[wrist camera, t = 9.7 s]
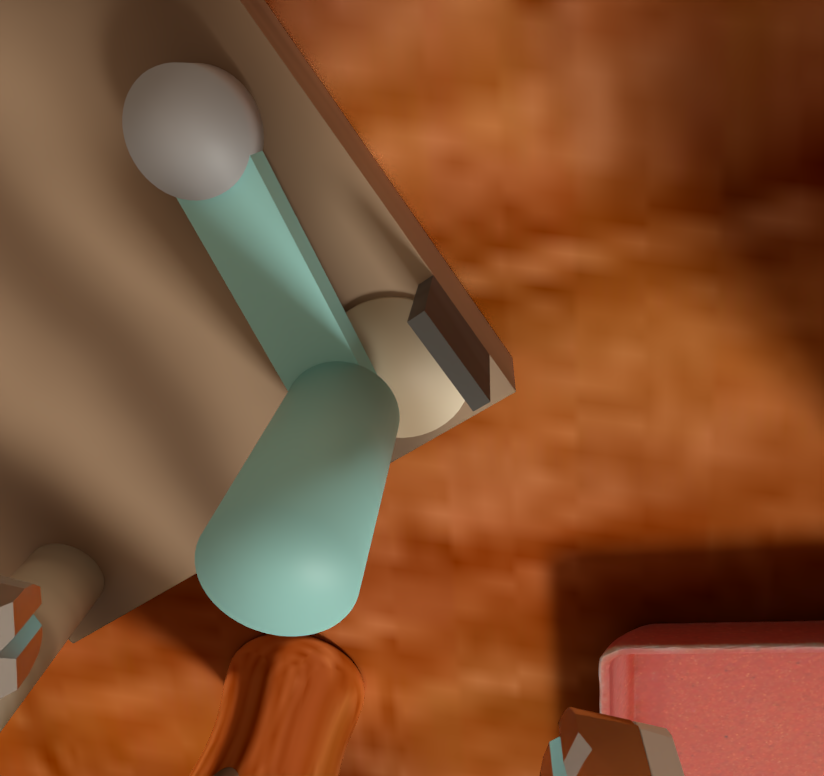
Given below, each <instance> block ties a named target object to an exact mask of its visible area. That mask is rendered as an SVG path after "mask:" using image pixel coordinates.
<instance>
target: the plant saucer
mask: <svg viewBox="0 0 824 776" xmlns="http://www.w3.org/2000/svg"><path fill="white" fill-rule="evenodd" d="M599 707H600V713H601V714H606V715H610V716H615V717H619V718H624V719H628V720H631V721H636V722H640V723H645V724H649V725H653V726H658V727H662V728H667V730H668V731H669V732H670V734H671V735H672V737H673V741H674V744H675V747H676V750H677V753H678V756H679V760H680V763H681V766H682V769H683V772H684V775H685V776H824V621H781V622H717V623H716V622H715V623H661V624H648V625H644V626H641V627H639V628H636V629H634V630H632V631H630V632H627V633H626V634H624V635H622V636H620V637H619V638H617V639H616V640H615V641H613V642H612V643H611V644H610V645H609V646H608V648H607V649H606V650H605V651H604V652H603V654H602V655H601V657H600V660H599Z"/></svg>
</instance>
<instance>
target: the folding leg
mask: <svg viewBox="0 0 824 776" xmlns="http://www.w3.org/2000/svg"><path fill="white" fill-rule="evenodd" d="M122 127H123V134H124V139H125V143H126V146H127V148H128V151H129V154H130V156H131V158H132V159H133V161H134V163H135V164H136V166H137V168H138V169H139V170H140V172H141V173H142V174H143V175H144V176H145V177H146V178H147V179H148V180H149V181H150V182H151V183H152V184H153V185H155V186H156V187H157V188H158V189H160V190H162V191H163V192H165V193H167V194H169V195H171V196H174V197H176V198H177V200H178V201H179V203H180V205H181V207H182V208H183V210H184V212H185V214H186V215H187V217H188V219H189V220H190V222H191V224H192V226H193V227H194V229H195V231H196V233H197V234H198V236H199V238H200V240H201V241H202V243H203V245H204V247H205V248H206V250H207V252H208V253H209V255H210V257H211V259H212V260H213V262H214V264H215V266H216V267H217V269H218V271H219V273H220V274H221V276H222V278H223V280H224V281H225V283H226V285H227V286H228V288H229V290H230V292H231V293H232V295H233V297H234V299H235V300H236V302H237V304H238V306H239V307H240V309H241V311H242V313H243V314H244V316H245V318H246V319H247V321H248V323H249V325H250V326H251V328H252V330H253V332H254V333H255V335H256V337H257V339H258V340H259V342H260V344H261V346H262V347H263V349H264V351H265V352H266V354H267V356H268V358H269V359H270V361H271V363H272V365H273V366H274V368H275V370H276V372H277V373H278V375H279V377H280V379H281V380H282V382H283V384H284V386H285V387H286V389H287V391H288V393H287V394H286V396H285V398H284V399H283V401H282V403H281V404H280V406H279V408H278V409H277V411H276V412H275V414H274V416H273V417H272V419H271V421H270V422H269V424H268V426H267V427H266V429H265V430H264V432H263V434H262V435H261V437H260V439H259V440H258V442H257V444H256V445H255V447H254V449H253V450H252V452H251V453H250V455H249V457H248V458H247V460H246V462H245V463H244V465H243V467H242V468H241V470H240V472H239V473H238V475H237V476H236V478H235V480H234V481H233V483H232V485H231V486H230V488H229V490H228V491H227V493H226V495H225V496H224V498H223V499H222V501H221V503H220V504H219V506H218V508H217V509H216V511H215V513H214V514H213V516H212V518H211V519H210V521H209V522H208V524H207V526H206V527H205V529H204V531H203V532H202V534H201V536H200V537H199V540H198V542H197V545H196V550H195V568H196V573H197V576H198V579H199V581H200V584H201V586H202V588H203V589H204V591H205V593H206V594H207V596H208V597H209V598H210V599H211V601H212V602H213V603H214V604H215V605H216V606H217V607H218V608H219V609H220V610H221V611H223V612H224V613H225V614H226V615H228V616H229V617H231V618H232V619H234V620H235V621H237V622H239V623H241V624H243V625H244V626H246V627H249V628H251V629H254V630H256V631H260V632H263V633H267V634H272V635H277V636H306V635H311V634H316V633H319V632H322V631H325V630H327V629H329V628H331V627H333V626H334V625H336V624H337V623H339V622H340V621H341V620H343V619H344V618H345V617H346V616H347V615H348V614H349V612H350V611H351V610H352V608H353V606H354V605H355V603H356V601H357V598H358V595H359V591H360V587H361V583H362V578H363V574H364V570H365V566H366V562H367V557H368V553H369V549H370V545H371V541H372V537H373V532H374V528H375V524H376V520H377V516H378V511H379V507H380V503H381V499H382V495H383V490H384V486H385V482H386V478H387V474H388V470H389V465H390V461H391V457H392V453H393V449H394V444H395V440H396V436H397V432H398V427H399V422H400V414H399V407H398V403H397V400H396V398H395V396H394V394H393V392H392V390H391V389H390V387H389V386H388V385H387V384H386V382H385V381H384V380H383V379H382V378H381V377H379V376H378V375H377V373H376V371H375V369H374V367H373V365H372V363H371V361H370V359H369V357H368V356H367V354H366V352H365V350H364V348H363V346H362V344H361V342H360V340H359V338H358V336H357V334H356V332H355V330H354V328H353V326H352V324H351V322H350V320H349V318H348V316H347V315H346V313H345V311H344V309H343V307H342V305H341V303H340V301H339V299H338V297H337V295H336V293H335V291H334V289H333V287H332V285H331V283H330V281H329V279H328V277H327V276H326V274H325V272H324V270H323V268H322V266H321V264H320V262H319V260H318V258H317V256H316V254H315V252H314V250H313V248H312V246H311V244H310V242H309V240H308V238H307V236H306V235H305V233H304V231H303V229H302V227H301V225H300V223H299V221H298V219H297V217H296V215H295V213H294V211H293V209H292V207H291V205H290V203H289V201H288V199H287V197H286V195H285V194H284V192H283V190H282V188H281V186H280V184H279V182H278V180H277V178H276V176H275V174H274V172H273V170H272V168H271V166H270V164H269V162H268V160H267V158H266V156H265V154H264V153H263V145H264V129H263V123H262V118H261V115H260V112H259V109H258V107H257V105H256V103H255V101H254V99H253V97H252V96H251V94H250V93H249V92H248V90H247V89H246V88H245V87H244V85H243V84H242V83H241V82H240V81H239V80H237V79H236V78H235V77H234V76H233V75H231V74H230V73H228V72H227V71H225V70H223V69H221V68H219V67H216V66H213V65H209V64H204V63H177V62H172V63H164V64H161V65H157V66H155V67H153V68H151V69H149V70H147V71H146V72H144V73H143V74H142V75H141V76H140V77H139V78H138V79H137V80H136V81H135V82H134V84H133V85H132V86H131V88H130V90H129V92H128V94H127V97H126V99H125V103H124V107H123V115H122Z"/></svg>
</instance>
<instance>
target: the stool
mask: <svg viewBox="0 0 824 776" xmlns="http://www.w3.org/2000/svg"><path fill="white" fill-rule="evenodd" d="M172 62H177V63H204V64H209V65H213V66H216V67H219V68H221V69H223V70H225V71H227V72H228V73H230V74H231V75H233V76H234V77H235V78H236V79H237V80H239V81H240V82H241V83H242V84H243V85H244V87H245V88H246V89H247V90H248V92H249V93H250V94H251V96H252V97H253V99H254V101H255V103H256V105H257V107H258V109H259V112H260V115H261V118H262V123H263V129H264V145H263V153H264V154H265V156H266V158H267V160H268V162H269V164H270V166H271V168H272V170H273V172H274V174H275V176H276V178H277V180H278V182H279V184H280V186H281V188H282V190H283V192H284V194H285V195H286V197H287V199H288V201H289V203H290V205H291V207H292V209H293V211H294V213H295V215H296V217H297V219H298V221H299V223H300V225H301V227H302V229H303V231H304V233H305V235H306V236H307V238H308V240H309V242H310V244H311V246H312V248H313V250H314V252H315V254H316V256H317V258H318V260H319V262H320V264H321V266H322V268H323V270H324V272H325V274H326V276H327V277H328V279H329V281H330V283H331V285H332V287H333V289H334V291H335V293H336V295H337V297H338V299H339V301H340V303H341V305H342V307H343V309H344V311H345V313H346V315H347V316H348V318H349V320H350V322H351V324H352V326H353V328H354V330H355V332H356V334H357V336H358V338H359V340H360V342H361V344H362V346H363V348H364V350H365V352H366V354H367V356H368V357H369V359H370V361H371V363H372V365H373V367H374V369H375V371H376V373H377V375H378V376H379V377H381V378H382V379H383V380H384V381H385V382H386V384H387V385H388V386H389V387H390V389H391V390H392V392H393V394H394V396H395V398H396V400H397V403H398V407H399V414H400V422H399V427H398V432H397V436H396V440H395V444H394V449H393V453H392V457H391V461H390V463H391V462H393V461H395V460H396V459H398V458H400V457H402V456H404V455H405V454H407V453H409V452H411V451H412V450H414V449H416V448H418V447H419V446H421V445H423V444H425V443H426V442H428V441H430V440H432V439H433V438H435V437H437V436H439V435H440V434H442V433H444V432H446V431H447V430H449V429H451V428H453V427H454V426H456V425H458V424H460V423H462V422H463V421H465V420H467V419H469V418H470V417H472V416H474V415H476V414H477V413H479V412H481V411H483V410H484V409H486V408H488V407H490V406H491V405H493V404H495V403H497V402H498V401H500V400H502V399H504V398H505V397H507V396H509V395H511V394H512V393H514V392H516V389H515V379H514V369H513V359H512V357H511V355H510V354H509V352H508V351H507V350H506V348H505V347H504V345H503V344H502V342H501V341H500V339H499V338H498V337H497V335H496V334H495V332H494V331H493V329H492V328H491V326H490V325H489V324H488V322H487V321H486V319H485V318H484V316H483V315H482V313H481V312H480V311H479V309H478V308H477V306H476V305H475V303H474V302H473V300H472V299H471V298H470V296H469V295H468V293H467V292H466V290H465V289H464V287H463V286H462V285H461V283H460V282H459V280H458V279H457V277H456V276H455V275H454V273H453V272H452V270H451V269H450V267H449V266H448V264H447V263H446V262H445V260H444V259H443V257H442V256H441V254H440V253H439V251H438V250H437V249H436V247H435V246H434V244H433V243H432V241H431V240H430V238H429V237H428V236H427V234H426V233H425V231H424V230H423V228H422V227H421V225H420V224H419V223H418V221H417V220H416V218H415V217H414V215H413V214H412V212H411V211H410V210H409V208H408V207H407V205H406V204H405V202H404V201H403V199H402V198H401V197H400V195H399V194H398V192H397V191H396V189H395V188H394V186H393V185H392V184H391V182H390V181H389V179H388V178H387V176H386V175H385V174H384V172H383V171H382V169H381V168H380V166H379V165H378V163H377V162H376V161H375V159H374V158H373V156H372V155H371V153H370V152H369V150H368V149H367V148H366V146H365V145H364V143H363V142H362V140H361V139H360V137H359V136H358V135H357V133H356V132H355V130H354V129H353V127H352V126H351V124H350V123H349V122H348V120H347V119H346V117H345V116H344V114H343V113H342V111H341V110H340V109H339V107H338V106H337V104H336V103H335V101H334V100H333V98H332V97H331V96H330V94H329V93H328V91H327V90H326V88H325V87H324V86H323V84H322V83H321V81H320V80H319V78H318V77H317V75H316V74H315V73H314V71H313V70H312V68H311V67H310V65H309V64H308V62H307V61H306V60H305V58H304V57H303V55H302V54H301V52H300V51H299V49H298V48H297V47H296V45H295V44H294V42H293V41H292V39H291V38H290V36H289V35H288V34H287V32H286V31H285V29H284V28H283V26H282V25H281V23H280V22H279V21H278V19H277V18H276V16H275V15H274V13H273V12H272V10H271V9H270V8H269V6H268V5H267V3H266V2H265V0H0V575H1V576H5V577H9V578H13V579H17V580H20V581H24V582H28V583H32V584H35V585H37V586H40V587H41V600H42V604H41V605H40V606H39V608H38V609H37V610H36V611H35V612H34V615H35V617H36V618H37V619H38V621H39V622H40V623H41V624H42V642H41V646H40V651H39V654H38V656H37V658H36V660H35V663H34V665H33V667H32V669H31V671H30V673H29V674H28V676H27V677H26V679H25V680H24V681H23V683H22V684H21V685H20V687H19V688H18V690H16V691H14V692H12V693H10V694H8V695H7V696H5V697H3V698H1V699H0V732H1V730H2V729H3V728H4V726H5V725H6V723H7V722H8V721H9V719H10V718H11V717H12V715H13V714H14V712H15V711H16V710H17V708H18V707H19V706H20V704H21V703H22V702H23V700H24V699H25V697H26V696H27V695H28V693H29V692H30V691H31V689H32V688H33V686H34V685H35V684H36V682H37V681H38V680H39V678H40V677H41V676H42V674H43V673H44V671H45V670H46V669H47V667H48V666H49V665H50V663H51V662H52V660H53V659H54V658H55V656H56V655H57V654H58V652H59V651H60V650H61V648H62V647H63V645H64V644H65V643H66V641H67V640H68V639H69V640H70V641H71V642H72V643H75V642H77V641H78V640H80V639H82V638H84V637H85V636H87V635H89V634H91V633H92V632H94V631H96V630H98V629H99V628H101V627H103V626H105V625H106V624H108V623H110V622H112V621H114V620H115V619H117V618H119V617H121V616H122V615H124V614H126V613H128V612H129V611H131V610H133V609H135V608H136V607H138V606H140V605H142V604H143V603H145V602H147V601H149V600H150V599H152V598H154V597H156V596H157V595H159V594H161V593H163V592H164V591H166V590H168V589H170V588H172V587H173V586H175V585H177V584H179V583H180V582H182V581H184V580H186V579H187V578H189V577H191V576H193V575H194V574H196V568H195V550H196V545H197V542H198V540H199V537H200V536H201V534H202V532H203V531H204V529H205V527H206V526H207V524H208V522H209V521H210V519H211V518H212V516H213V514H214V513H215V511H216V509H217V508H218V506H219V504H220V503H221V501H222V499H223V498H224V496H225V495H226V493H227V491H228V490H229V488H230V486H231V485H232V483H233V481H234V480H235V478H236V476H237V475H238V473H239V472H240V470H241V468H242V467H243V465H244V463H245V462H246V460H247V458H248V457H249V455H250V453H251V452H252V450H253V449H254V447H255V445H256V444H257V442H258V440H259V439H260V437H261V435H262V434H263V432H264V430H265V429H266V427H267V426H268V424H269V422H270V421H271V419H272V417H273V416H274V414H275V412H276V411H277V409H278V408H279V406H280V404H281V403H282V401H283V399H284V398H285V396H286V394H287V393H288V391H287V389H286V387H285V386H284V384H283V382H282V380H281V379H280V377H279V375H278V373H277V372H276V370H275V368H274V366H273V365H272V363H271V361H270V359H269V358H268V356H267V354H266V352H265V351H264V349H263V347H262V346H261V344H260V342H259V340H258V339H257V337H256V335H255V333H254V332H253V330H252V328H251V326H250V325H249V323H248V321H247V319H246V318H245V316H244V314H243V313H242V311H241V309H240V307H239V306H238V304H237V302H236V300H235V299H234V297H233V295H232V293H231V292H230V290H229V288H228V286H227V285H226V283H225V281H224V280H223V278H222V276H221V274H220V273H219V271H218V269H217V267H216V266H215V264H214V262H213V260H212V259H211V257H210V255H209V253H208V252H207V250H206V248H205V247H204V245H203V243H202V241H201V240H200V238H199V236H198V234H197V233H196V231H195V229H194V227H193V226H192V224H191V222H190V220H189V219H188V217H187V215H186V214H185V212H184V210H183V208H182V207H181V205H180V203H179V201H178V200H177V198H176V197H174V196H171V195H169V194H167V193H165V192H163V191H162V190H160V189H158V188H157V187H156V186H155V185H153V184H152V183H151V182H150V181H149V180H148V179H147V178H146V177H145V176H144V175H143V174H142V173H141V172H140V170H139V169H138V168H137V166H136V164H135V163H134V161H133V159H132V158H131V156H130V154H129V151H128V148H127V146H126V143H125V139H124V134H123V127H122V115H123V107H124V103H125V99H126V97H127V94H128V92H129V90H130V88H131V86H132V85H133V84H134V82H135V81H136V80H137V79H138V78H139V77H140V76H141V75H142V74H143V73H144V72H146V71H147V70H149V69H151V68H153V67H155V66H157V65H161V64H164V63H172Z"/></svg>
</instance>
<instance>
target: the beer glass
mask: <svg viewBox="0 0 824 776" xmlns="http://www.w3.org/2000/svg"><path fill="white" fill-rule="evenodd" d="M364 699H365V687H364V682H363V679H362V676H361V674H360V672H359V670H358V669H357V667H356V666H355V664H354V663H353V662H352V661H351V660H350V659H349V658H348V657H347V656H346V655H345V654H344V653H343V652H341V651H340V650H339V649H337V648H336V647H334V646H332V645H331V644H329V643H327V642H325V641H322V640H320V639H317V638H315V637H311V636H308V635H306V636H277V635H272V634H267V635H263V636H260V637H257V638H255V639H253V640H251V641H249V642H247V643H246V644H244V645H243V646H242V647H241V648H240V649H239V650H238V651H237V652H236V653H235V655H234V656H233V658H232V660H231V662H230V664H229V667H228V670H227V674H226V678H225V683H224V688H223V693H222V698H221V703H220V707H219V711H218V715H217V719H216V722H215V724H214V727H213V730H212V732H211V735H210V737H209V739H208V741H207V744H206V746H205V748H204V750H203V752H202V754H201V756H200V757H199V759H198V761H197V763H196V764H195V766H194V768H193V769H192V771H191V773H190V774H189V776H339V774H340V769H341V765H342V761H343V757H344V754H345V751H346V748H347V745H348V743H349V740H350V738H351V735H352V733H353V731H354V728H355V726H356V723H357V721H358V718H359V716H360V713H361V710H362V707H363V703H364Z"/></svg>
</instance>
